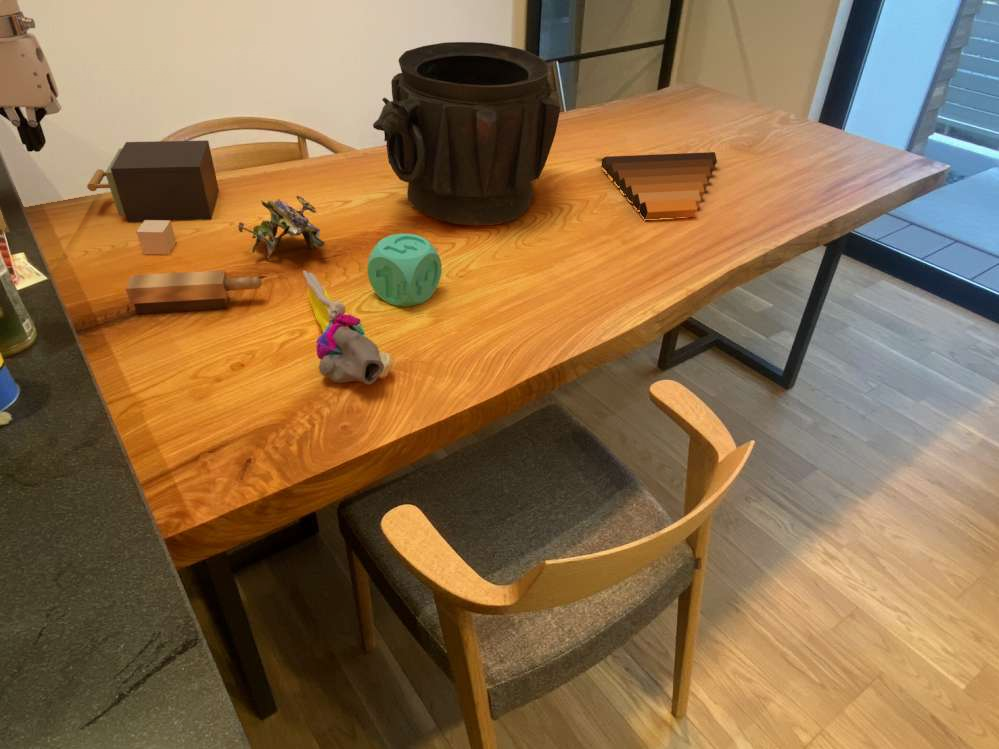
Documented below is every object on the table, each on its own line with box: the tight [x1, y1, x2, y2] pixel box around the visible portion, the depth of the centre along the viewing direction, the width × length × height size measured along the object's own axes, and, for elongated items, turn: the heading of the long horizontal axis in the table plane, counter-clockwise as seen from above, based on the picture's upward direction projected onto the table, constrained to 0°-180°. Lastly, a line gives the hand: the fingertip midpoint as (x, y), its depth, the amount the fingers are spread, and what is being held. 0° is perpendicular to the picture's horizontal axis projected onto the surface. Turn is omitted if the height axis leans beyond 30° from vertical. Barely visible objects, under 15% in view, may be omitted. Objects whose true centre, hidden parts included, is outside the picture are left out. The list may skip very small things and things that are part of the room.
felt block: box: [135, 220, 177, 256], centre depth 110 cm, size 4×4×4 cm
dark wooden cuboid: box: [111, 140, 220, 223], centre depth 120 cm, size 14×12×10 cm
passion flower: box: [238, 195, 326, 262], centre depth 110 cm, size 11×11×12 cm
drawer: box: [86, 148, 126, 217], centre depth 120 cm, size 17×10×8 cm, turn 101°
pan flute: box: [601, 151, 718, 219], centre depth 139 cm, size 25×3×25 cm
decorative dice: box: [366, 233, 443, 307], centre depth 103 cm, size 8×8×8 cm
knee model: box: [302, 270, 394, 385], centre depth 93 cm, size 9×8×25 cm
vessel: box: [372, 41, 561, 226], centre depth 124 cm, size 31×32×25 cm
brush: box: [125, 269, 263, 315], centre depth 99 cm, size 18×4×4 cm, turn 101°
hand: (36, 148), depth 113 cm, fingers closed
